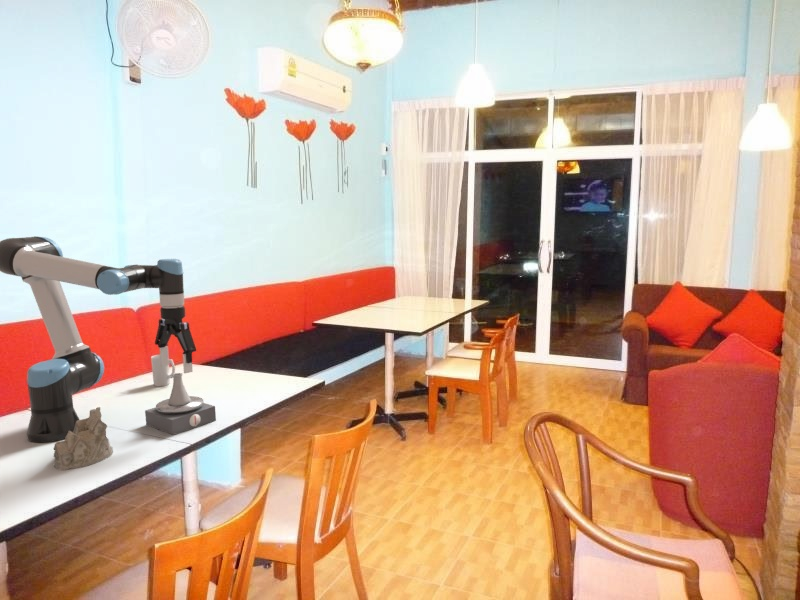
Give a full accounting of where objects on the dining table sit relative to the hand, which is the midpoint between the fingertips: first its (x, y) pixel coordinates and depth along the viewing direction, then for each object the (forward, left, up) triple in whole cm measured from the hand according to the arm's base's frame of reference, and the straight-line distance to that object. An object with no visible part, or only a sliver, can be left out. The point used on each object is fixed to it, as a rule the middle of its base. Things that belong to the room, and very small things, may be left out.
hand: (176, 369), depth 194 cm
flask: (0, 0, -12) cm, 12 cm away
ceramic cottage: (-33, -2, -19) cm, 38 cm away
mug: (+23, +47, -19) cm, 55 cm away
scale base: (0, 0, -19) cm, 19 cm away
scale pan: (0, 0, -13) cm, 13 cm away
